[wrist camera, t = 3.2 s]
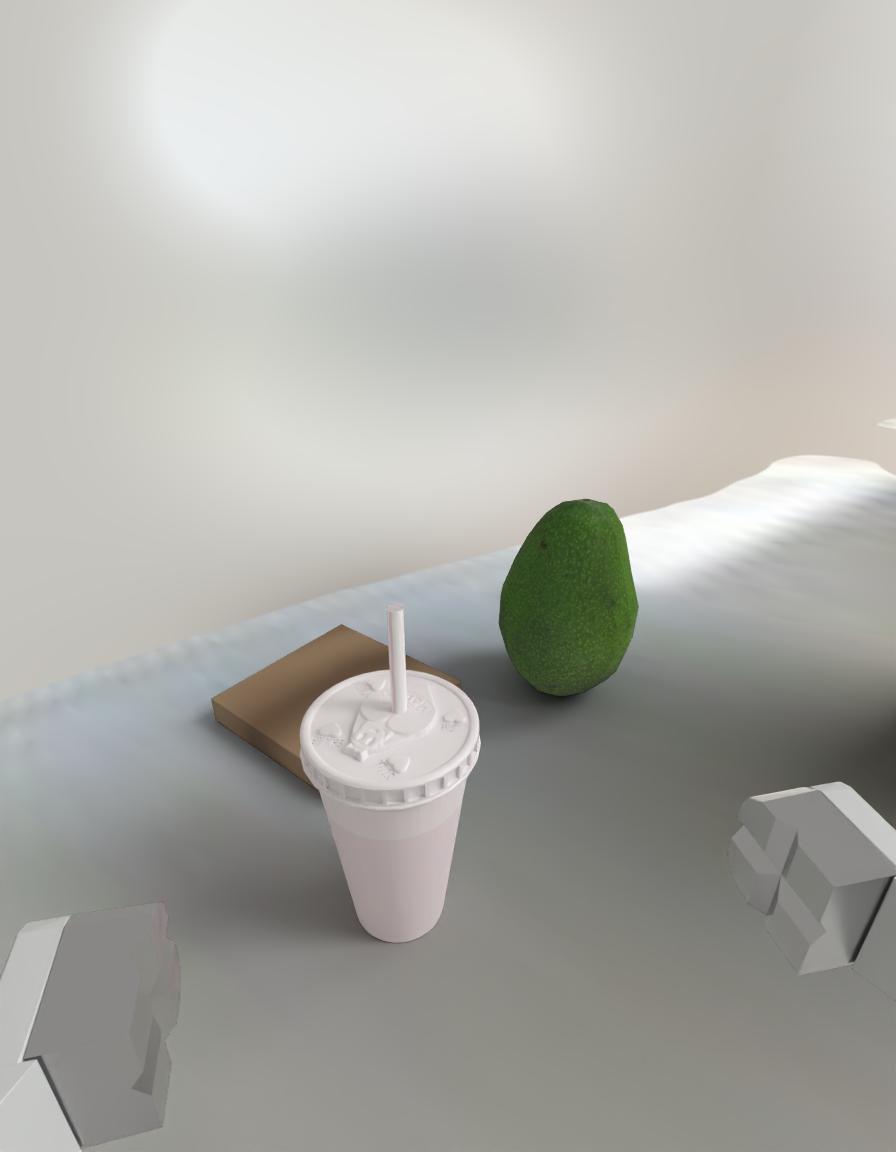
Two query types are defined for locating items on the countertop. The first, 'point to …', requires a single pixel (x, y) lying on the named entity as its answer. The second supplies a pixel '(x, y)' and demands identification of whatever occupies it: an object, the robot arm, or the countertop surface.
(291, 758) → the coaster board
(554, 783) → the countertop surface
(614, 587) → the avocado
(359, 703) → the smoothie
